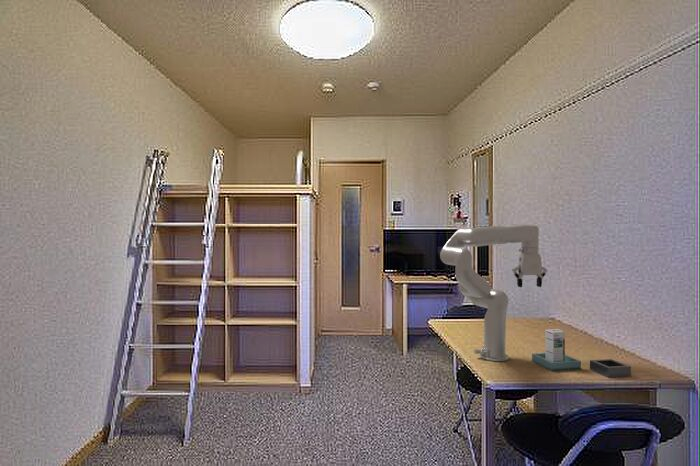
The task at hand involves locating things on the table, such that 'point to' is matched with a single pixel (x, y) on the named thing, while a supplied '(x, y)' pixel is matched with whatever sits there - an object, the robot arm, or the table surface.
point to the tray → (556, 363)
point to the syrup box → (555, 345)
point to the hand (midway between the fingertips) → (529, 286)
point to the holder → (610, 368)
